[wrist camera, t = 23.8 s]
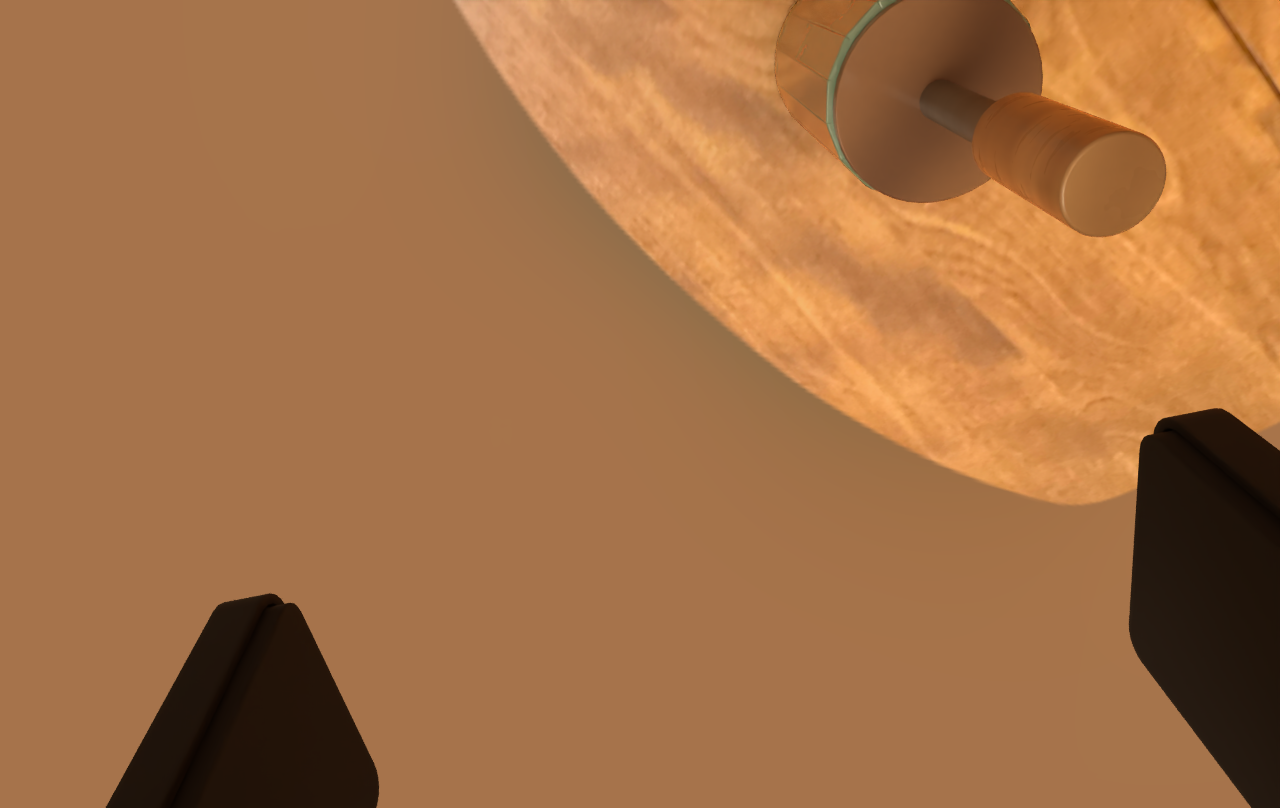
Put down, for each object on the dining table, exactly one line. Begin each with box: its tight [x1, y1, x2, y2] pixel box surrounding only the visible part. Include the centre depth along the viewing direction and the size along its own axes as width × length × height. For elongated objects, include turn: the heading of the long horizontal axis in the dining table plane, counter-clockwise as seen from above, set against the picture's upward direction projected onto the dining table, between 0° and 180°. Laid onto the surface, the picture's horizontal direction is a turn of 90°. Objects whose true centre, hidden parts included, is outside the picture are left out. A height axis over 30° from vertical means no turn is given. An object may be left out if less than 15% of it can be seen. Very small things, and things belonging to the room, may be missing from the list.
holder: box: [775, 0, 1031, 191], centre depth 33 cm, size 7×7×9 cm
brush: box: [833, 0, 1166, 237], centre depth 27 cm, size 6×6×19 cm
